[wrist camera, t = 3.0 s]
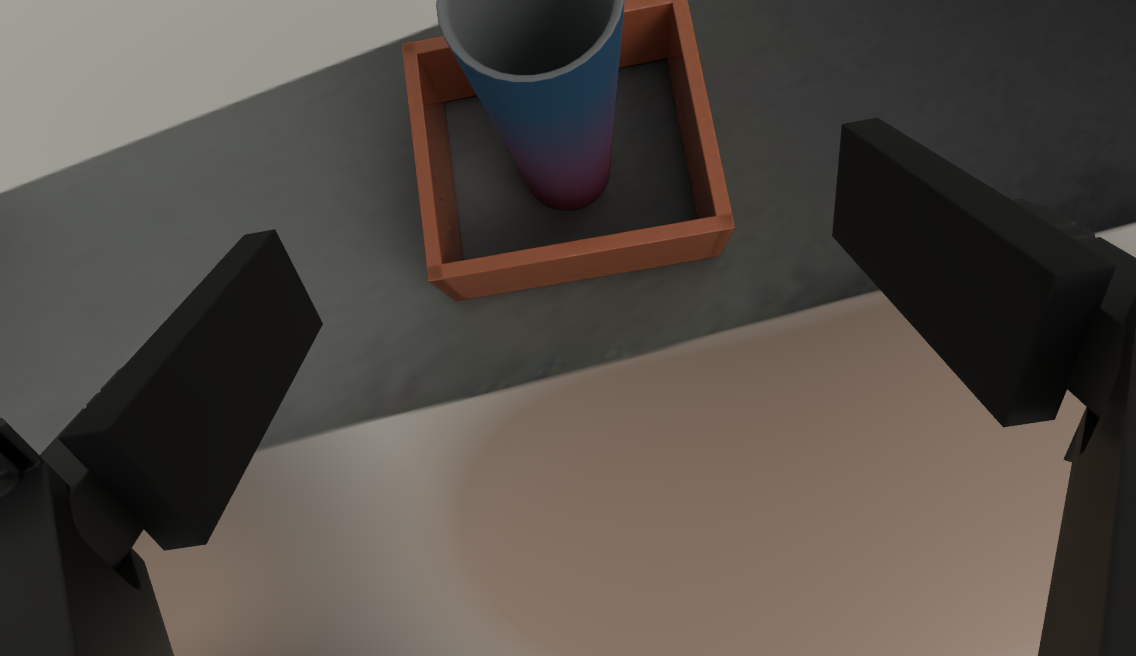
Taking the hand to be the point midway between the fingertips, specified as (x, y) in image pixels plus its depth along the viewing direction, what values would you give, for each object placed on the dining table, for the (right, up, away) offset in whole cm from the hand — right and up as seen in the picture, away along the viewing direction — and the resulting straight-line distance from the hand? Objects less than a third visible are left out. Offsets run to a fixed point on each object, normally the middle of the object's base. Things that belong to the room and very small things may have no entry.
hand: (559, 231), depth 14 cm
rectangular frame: (0, +7, +22) cm, 23 cm away
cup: (0, +7, +22) cm, 23 cm away
